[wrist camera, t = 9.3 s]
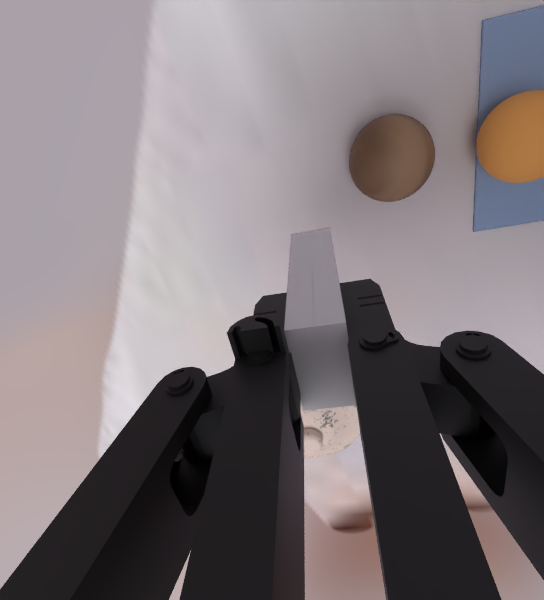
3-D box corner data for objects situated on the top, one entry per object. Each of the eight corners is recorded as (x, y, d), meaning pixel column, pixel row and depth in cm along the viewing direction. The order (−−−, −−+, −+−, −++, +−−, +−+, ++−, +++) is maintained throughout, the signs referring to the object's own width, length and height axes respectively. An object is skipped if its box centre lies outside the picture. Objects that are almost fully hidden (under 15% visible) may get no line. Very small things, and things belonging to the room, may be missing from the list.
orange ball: (486, 92, 27) (587, 76, 24) (482, 172, 30) (572, 167, 27) (470, 106, 23) (586, 89, 20) (467, 195, 26) (569, 193, 23)
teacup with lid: (254, 312, 36) (236, 404, 26) (353, 305, 35) (373, 398, 25) (271, 406, 42) (261, 509, 32) (356, 402, 41) (373, 508, 31)
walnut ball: (325, 131, 26) (378, 113, 28) (340, 211, 28) (388, 187, 31) (394, 119, 22) (449, 98, 24) (404, 214, 24) (454, 186, 26)
